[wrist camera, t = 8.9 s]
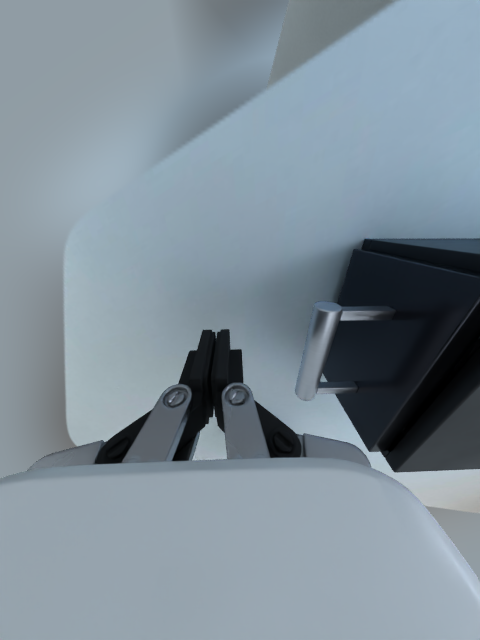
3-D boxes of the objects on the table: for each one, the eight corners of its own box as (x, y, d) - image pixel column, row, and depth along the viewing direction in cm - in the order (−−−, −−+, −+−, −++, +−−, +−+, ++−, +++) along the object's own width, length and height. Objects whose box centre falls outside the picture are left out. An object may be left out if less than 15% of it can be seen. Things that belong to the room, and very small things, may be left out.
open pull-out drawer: (277, 367, 18) (303, 454, 11) (294, 249, 13) (366, 282, 6) (443, 363, 19) (564, 444, 12) (531, 248, 13) (854, 277, 6)
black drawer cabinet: (324, 364, 19) (393, 473, 11) (364, 238, 13) (592, 268, 5) (451, 361, 20) (611, 463, 11) (548, 238, 14) (1050, 265, 5)
